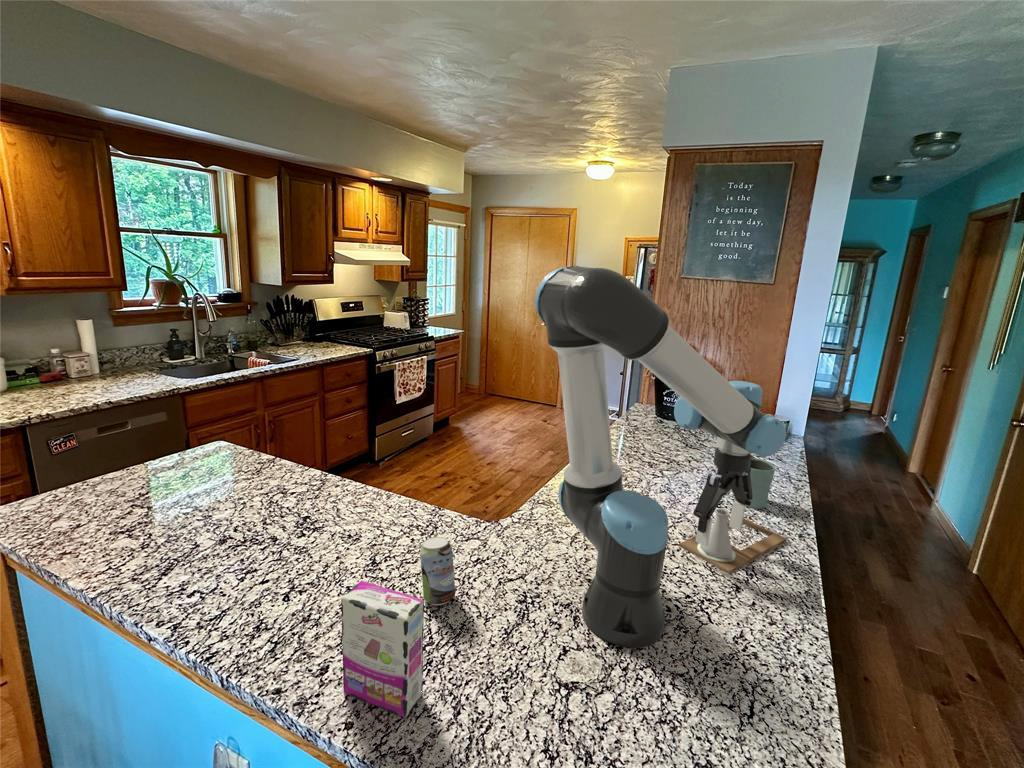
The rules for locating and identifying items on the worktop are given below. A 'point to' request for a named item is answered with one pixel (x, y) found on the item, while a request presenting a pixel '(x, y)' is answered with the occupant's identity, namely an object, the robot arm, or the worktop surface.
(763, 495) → the green cup
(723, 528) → the flask
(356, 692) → the candy bar box
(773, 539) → the board
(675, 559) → the worktop surface
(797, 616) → the worktop surface
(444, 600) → the beverage can
